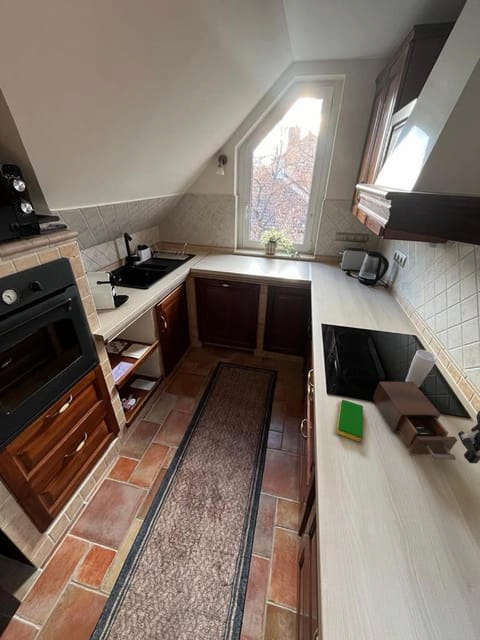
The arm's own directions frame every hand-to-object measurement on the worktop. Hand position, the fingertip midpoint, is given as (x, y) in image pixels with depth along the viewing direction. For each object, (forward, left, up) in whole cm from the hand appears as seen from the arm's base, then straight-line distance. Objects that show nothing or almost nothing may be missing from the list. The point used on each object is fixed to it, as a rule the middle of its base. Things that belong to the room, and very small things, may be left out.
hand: (469, 459), depth 63 cm
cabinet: (0, -24, -12) cm, 27 cm away
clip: (0, -14, -10) cm, 17 cm away
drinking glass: (-14, -39, -13) cm, 43 cm away
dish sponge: (+19, -21, -13) cm, 31 cm away
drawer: (0, -13, -11) cm, 17 cm away
